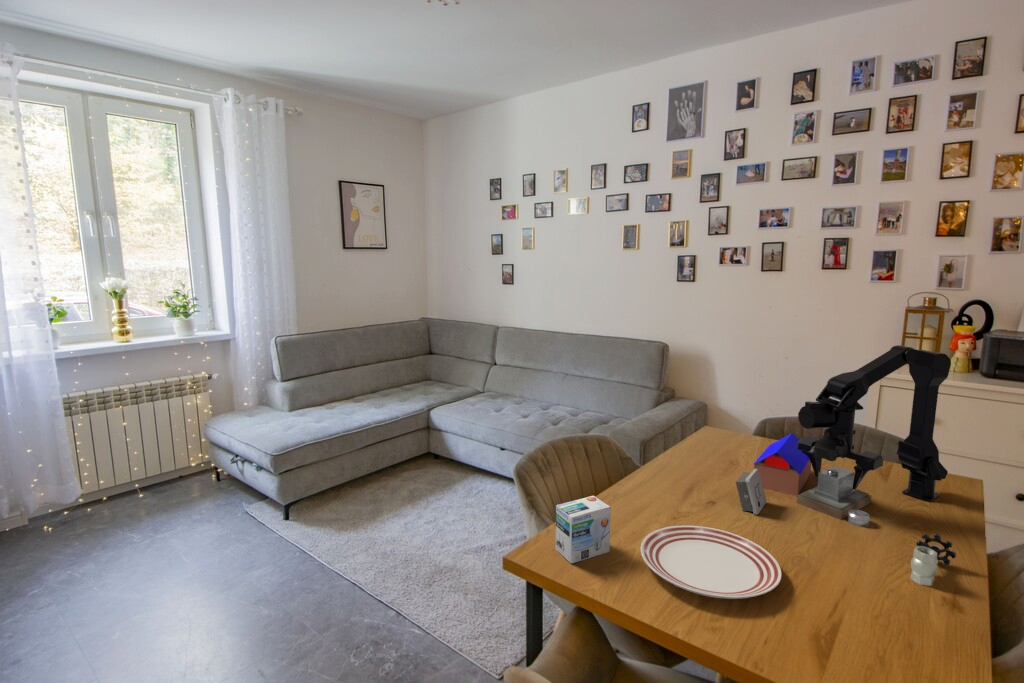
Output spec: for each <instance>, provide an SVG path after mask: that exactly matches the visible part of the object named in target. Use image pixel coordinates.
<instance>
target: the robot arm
mask: <svg viewBox="0 0 1024 683" xmlns="http://www.w3.org/2000/svg"><path fill="white" fill-rule="evenodd" d="M907 364H908V372H909V374H910V376H911V379H912V380H913V383H914V389H913V399H912V408H911V415H910V416H911V417H910V424H909V433H908V435H907V437H906V438H905V439H904V440H899V441H898V442H897V444H898V448H897V451H896V455H898V456H897V457H898V460H899V461H900V464H901V468H902V469H905V470H907V471H909V475H908V482H907V488H905V489H903V490H902V491H901V492H902V494H904V495H908V496H910V497H913V498H917V499H919V500H923V501H927V502H932V501H934V500H935V499H937V498H938V497H940V494H939V493H937V492H935V490H936V482H937V481H938V482H939V481H942V480H944V479H946V477H947V476H948V471H949V470H947V469H946V467H945V466H944V465H943V464H942V463H941V462H940V457H939V456H940V454H939V453H940V452H939V449H938V446H937V445H936V443H935V441H934V432H935V431H934V430H935V421H936V413H937V406H938V405H937V404H938V396H939V389H940V386H941V385H942V383H944V382H945V380H946V379H947V378H948V376H949V373H950V369H951V366H952V358H950V357H949V356H948V354H946V353H943V352H937V351H931V350H926V349H915V348H914V347H911V346H905V345H893V346H892V347H891V348H890V349H889V350H888V351H886V352H885V353H883V354H880V356H877V357H876V358H874V359H872V360H871V361H870V362H868V363H866V364H865V365H863V366H861V367H859V368H858V369H856V370H853V371H849V372H842V373H840V374H837V375H835V376H833V377H830V378H829V379H828V380H827V382H826V385H825V386H824V388H823V389H822V390H821V391H820V392H819V394H818V396H817V397H816V398H815V401H805V402H804V406H802V407H801V408H800V409H799V411H798V415H797V418H798V421H799V424H800V426H802V427H803V428H804V429H807V430H809V429H824V431H823V436H822V437H821V438H819V437H816V436H815V437H814V436H811V435H807V436H804V437H801V438H798V439H799V440H798V442H797V449H799V450H802V453H804V454H806V455H807V456H808V457H809V459H810V461H811V468H812V470H813V473H814V476H815V478H817V479H818V476H819V472H821V470H822V462H823V459H825V460H827V461H828V462H834V461H836V460H837V459H839V458H841V459H845V458H846V459H849V460H854V461H855V464H856V465H854V466H853V469H854V480H853V489H854V490H855V489H856V490H858V489H857V488H858V487H859V485H860V484H861V482H862V481H863V479H864V478H865V476H866V475H867V473H868V472H870V471H875V470H877V469H879V468H882V467H883V466H884V458H883V456H882V455H881V454H879V453H876V452H875V453H874V452H871V451H867V450H864V451H862V452H860V453H858V452H855V451H853V450H854V449H855V445H854V444H853V441H854V440H853V438H854V435H855V434H856V429H854V428H855V416H856V411H862V410H864V406H862V405H861V404H860V403H859V401H860V400H862V398H863V397H864V396H866V395H867V394H868V392H869V389H870V387H871V386H873V385H874V384H875V383H878V382H879V381H881V380H882V379H884V378H885V377H887V376H889V375H890V374H892V373H894V372H895V371H898V370H899V369H900V368H902V367H904V366H905V365H907Z"/></svg>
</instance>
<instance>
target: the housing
mask: <svg viewBox="0 0 1024 683" xmlns="http://www.w3.org/2000/svg"><path fill="white" fill-rule="evenodd" d="M854 475H855V471H853V470H850V469H846V468H842V467H840V466H835V465H833V466H830V467H828V468H826V469H824V470H822V471H820V472H819V476H818V478H817V486H818V488H817V489H816V490H814V494H816V495H819V496H821V497H824V498H827V499H830V500H833V501H835V502H840V501H842V500H844V499H846V498H848V497H850V496H852V495H854V494H855V491H856V490H857V489H856V490H854V489H853V480H854Z"/></svg>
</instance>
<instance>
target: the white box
mask: <svg viewBox="0 0 1024 683" xmlns="http://www.w3.org/2000/svg"><path fill="white" fill-rule="evenodd" d="M611 514H612V513H611V506H610V505H608V504H607V503H605V502H604V501H602V500H601V499H599V498H598V497H596V496H595V495H590V496H587V497H583V498H579V499H575V500H572V501H568V502H567V501H566V502H563V503H560V504H559V503H558V504H557V505H555V550H556V551H557V552H558V553H559V554H560V555H561V556H562V557H563V558H565V559H566V560H567V561H568V563H570V564H574V563H577V562H581V561H585V560H588V559H591V558H593V557H596V556H597V555H598V556H600V555H604V554H607V553H610V544H611V542H610V541H611V540H610V539H611V538H610V537H611ZM606 552H607V553H606ZM603 553H604V554H603Z"/></svg>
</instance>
